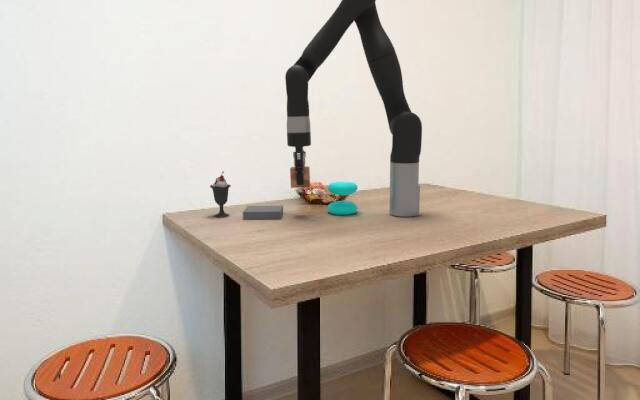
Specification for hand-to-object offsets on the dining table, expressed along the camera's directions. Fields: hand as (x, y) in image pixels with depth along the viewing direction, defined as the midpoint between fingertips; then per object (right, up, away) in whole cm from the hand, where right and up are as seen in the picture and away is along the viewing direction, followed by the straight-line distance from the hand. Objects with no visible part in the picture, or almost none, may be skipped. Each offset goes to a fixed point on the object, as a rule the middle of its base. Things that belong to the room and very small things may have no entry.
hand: (300, 183), depth 157 cm
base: (-12, -11, +2) cm, 17 cm away
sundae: (-26, -11, +4) cm, 29 cm away
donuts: (+14, -10, +7) cm, 18 cm away
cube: (0, -1, 0) cm, 1 cm away
